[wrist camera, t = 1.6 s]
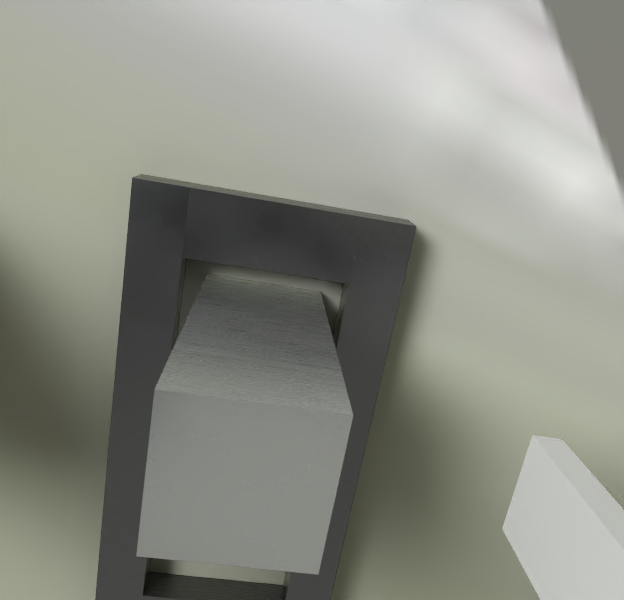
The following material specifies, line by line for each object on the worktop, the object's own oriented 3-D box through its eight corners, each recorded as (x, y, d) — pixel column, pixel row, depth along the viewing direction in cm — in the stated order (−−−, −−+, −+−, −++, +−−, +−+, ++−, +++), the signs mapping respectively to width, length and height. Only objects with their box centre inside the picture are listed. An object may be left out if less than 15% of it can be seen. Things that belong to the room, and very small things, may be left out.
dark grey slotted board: (87, 752, 26) (79, 781, 25) (141, 174, 19) (132, 177, 18) (284, 765, 27) (285, 793, 26) (408, 220, 20) (416, 226, 19)
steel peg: (193, 378, 21) (136, 556, 12) (206, 274, 20) (154, 389, 11) (301, 393, 21) (318, 574, 13) (320, 291, 20) (353, 415, 12)
